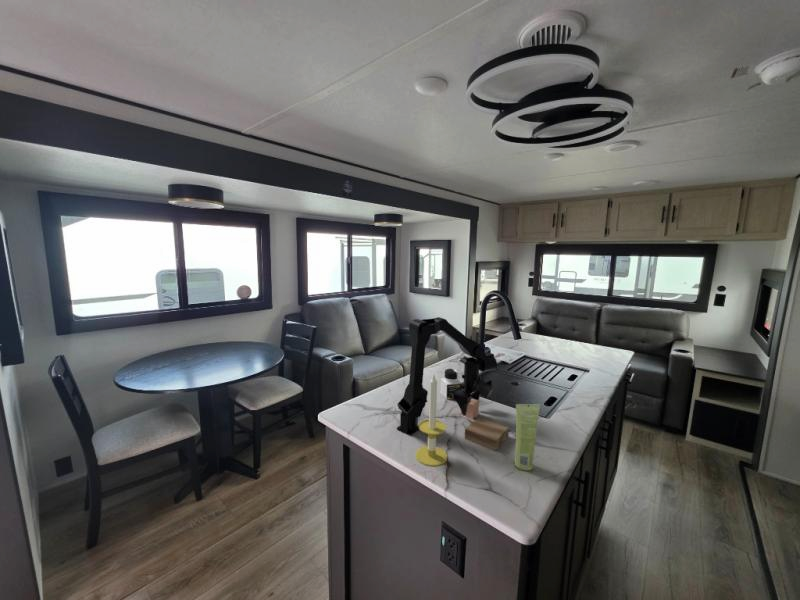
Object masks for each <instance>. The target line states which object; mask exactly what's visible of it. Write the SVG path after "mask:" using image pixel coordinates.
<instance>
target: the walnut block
mask: <svg viewBox="0 0 800 600" xmlns="http://www.w3.org/2000/svg"><path fill="white" fill-rule="evenodd" d="M509 428H510V427H509V426H506V425H503V424H501V423H498V422H494V421H493V420H489V419H486V418H484V417H480V416H478V418H477V419H475V420H474V421H473V422H472V423H470V425H468V426H467V427H466V428H465V429H464V431H465V432H464V440H467V441H468V442H471V443H473V444H477V445H479V446H481V447H483V448H486V449H488V450H491V451H494V452H496V451H497V450H498V449H500V447H501V446H502V445H503V443H505V441H506V440H507V439H508V438H509V431H510V429H509Z"/></svg>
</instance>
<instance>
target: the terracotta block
mask: <svg viewBox="0 0 800 600" xmlns="http://www.w3.org/2000/svg"><path fill="white" fill-rule="evenodd" d="M479 407H480V399H479V400H475V399H472V398H471V402H470V403H468V406H467V412H466V415H463V414H462V412H461V411H460V416H461V415H463V416H462V417H464V416H466V417H465V418H467V417H468V418H467V419H470V418H471V419H470V420H472V419H473V418H474V417H475V418H476V417H477V416H479V411H480V410H479V409H480V408H479ZM475 418H474V419H475ZM474 419H473V420H474Z"/></svg>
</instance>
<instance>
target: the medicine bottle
mask: <svg viewBox="0 0 800 600" xmlns="http://www.w3.org/2000/svg"><path fill="white" fill-rule="evenodd" d="M461 385H463V384H462V382H461V381H460V380H459V370H457V369H455V368H447V369H445V370H444V377H442V378H441V377H440V394H441V395H442V396H443V398H445V399H446V400H452V399H451V398H453V393H454V392H456V391H457V390H459V389H460V390H462V388H461Z"/></svg>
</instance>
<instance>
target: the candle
mask: <svg viewBox="0 0 800 600" xmlns="http://www.w3.org/2000/svg"><path fill="white" fill-rule="evenodd" d="M435 376H436V375H435V374H432V378H431V380H429V408H428V409H429V411H428V419H425V420H422V421H421V422H418V426H419V430H420V431H421V432H422V433H423V434H427V445H425V446H422V447H419V448H418V449H417V450H416V452H415V458H416V460H417V461H418V462H419V463H420V464H422V465H424V466H428V467H438V466H441V465H443V464H445V463H446V462H447V461H448V454H447V452H446V451H445V450H444V449H443V448H441V447H439V446H437V436H439V435H441V434H443V433H445V432H446V429H447V426H446V425H445V423H444V422H442V421H439V420H438V419H437V398H438V395H437V394H438V381H437V379H436V377H435Z"/></svg>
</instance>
